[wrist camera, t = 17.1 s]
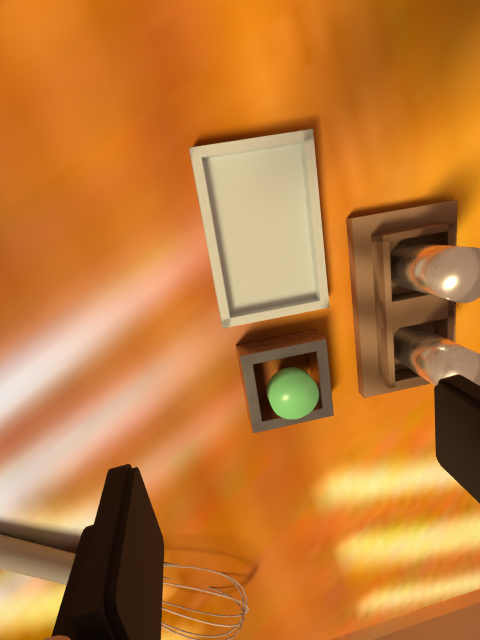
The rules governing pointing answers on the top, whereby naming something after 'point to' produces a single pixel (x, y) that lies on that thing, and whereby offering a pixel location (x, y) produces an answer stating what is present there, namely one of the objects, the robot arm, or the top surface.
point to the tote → (262, 226)
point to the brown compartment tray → (394, 291)
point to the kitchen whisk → (59, 564)
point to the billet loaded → (434, 355)
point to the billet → (437, 270)
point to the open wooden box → (278, 349)
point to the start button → (292, 393)
